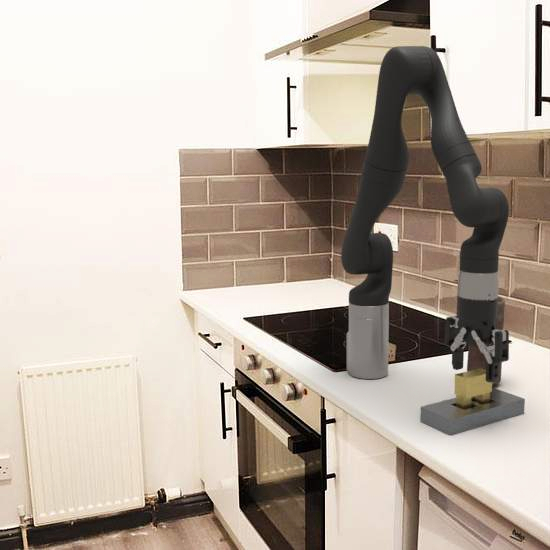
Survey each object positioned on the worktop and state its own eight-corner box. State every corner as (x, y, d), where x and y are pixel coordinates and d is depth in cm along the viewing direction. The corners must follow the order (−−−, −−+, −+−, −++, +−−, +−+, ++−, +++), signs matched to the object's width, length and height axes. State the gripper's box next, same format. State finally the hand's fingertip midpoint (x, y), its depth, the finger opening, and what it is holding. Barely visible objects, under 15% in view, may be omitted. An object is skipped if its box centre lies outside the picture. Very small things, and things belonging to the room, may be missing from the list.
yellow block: (453, 416, 137) (455, 374, 135) (479, 408, 140) (481, 368, 139) (465, 420, 134) (466, 378, 133) (491, 413, 138) (492, 372, 136)
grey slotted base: (420, 421, 136) (420, 406, 135) (492, 401, 146) (493, 387, 145) (450, 435, 129) (450, 419, 128) (524, 413, 139) (524, 398, 138)
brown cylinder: (495, 377, 160) (498, 292, 157) (506, 388, 153) (510, 299, 150) (462, 378, 160) (464, 293, 157) (472, 389, 153) (475, 300, 149)
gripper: (436, 289, 137) (433, 368, 140) (492, 303, 125) (488, 389, 128) (464, 285, 141) (460, 362, 144) (521, 298, 129) (516, 382, 132)
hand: (474, 375), depth 136 cm, fingers open, 8 cm apart
